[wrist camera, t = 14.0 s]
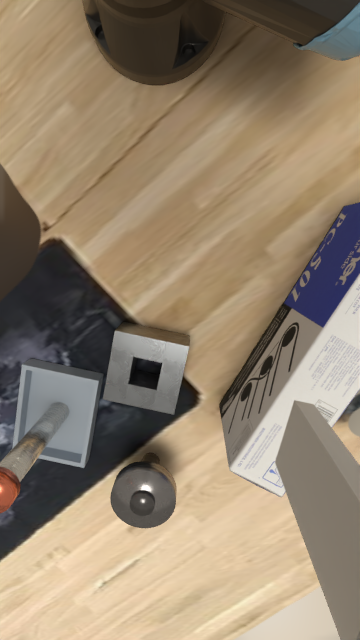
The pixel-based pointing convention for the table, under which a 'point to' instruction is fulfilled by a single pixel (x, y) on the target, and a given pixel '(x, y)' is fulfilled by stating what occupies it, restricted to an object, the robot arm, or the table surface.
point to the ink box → (300, 357)
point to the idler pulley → (144, 493)
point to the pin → (28, 452)
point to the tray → (69, 388)
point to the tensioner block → (139, 384)
